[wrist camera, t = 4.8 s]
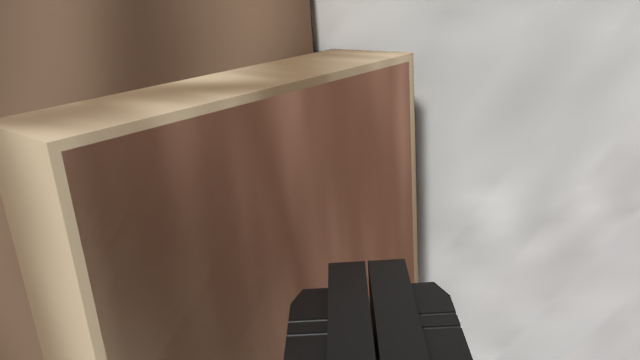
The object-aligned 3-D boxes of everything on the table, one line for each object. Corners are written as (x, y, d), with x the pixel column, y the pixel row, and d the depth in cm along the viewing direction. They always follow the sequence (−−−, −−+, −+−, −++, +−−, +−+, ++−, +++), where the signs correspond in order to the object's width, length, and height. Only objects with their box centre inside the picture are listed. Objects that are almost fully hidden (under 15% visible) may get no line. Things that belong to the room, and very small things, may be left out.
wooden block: (413, 52, 16) (46, 143, 10) (419, 311, 19) (132, 520, 12) (331, 49, 18) (-19, 121, 12) (347, 283, 21) (67, 450, 14)
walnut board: (305, -56, 18) (304, -57, 17) (336, 357, 22) (336, 367, 22) (-97, -24, 18) (-111, -24, 18) (14, 371, 23) (6, 382, 22)
